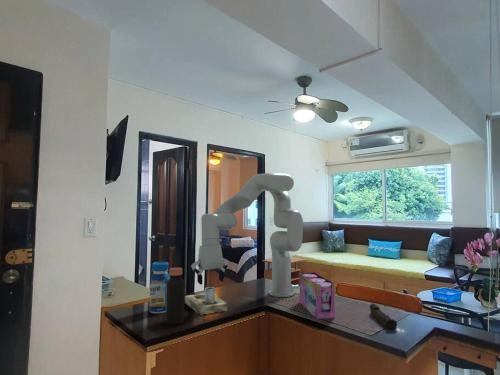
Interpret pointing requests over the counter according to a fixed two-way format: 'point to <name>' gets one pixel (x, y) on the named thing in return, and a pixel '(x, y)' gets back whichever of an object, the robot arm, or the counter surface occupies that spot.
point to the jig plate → (199, 304)
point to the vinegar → (175, 297)
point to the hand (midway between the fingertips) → (210, 282)
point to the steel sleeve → (209, 295)
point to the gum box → (317, 295)
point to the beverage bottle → (158, 287)
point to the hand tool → (382, 317)
